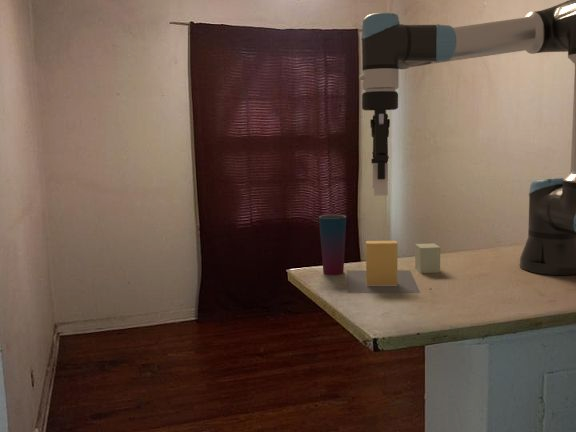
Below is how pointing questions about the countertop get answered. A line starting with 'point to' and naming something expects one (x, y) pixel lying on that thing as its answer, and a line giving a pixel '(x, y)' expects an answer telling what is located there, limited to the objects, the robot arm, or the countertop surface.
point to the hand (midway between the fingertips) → (379, 191)
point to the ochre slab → (381, 263)
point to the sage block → (427, 258)
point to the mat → (358, 285)
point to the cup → (333, 243)
